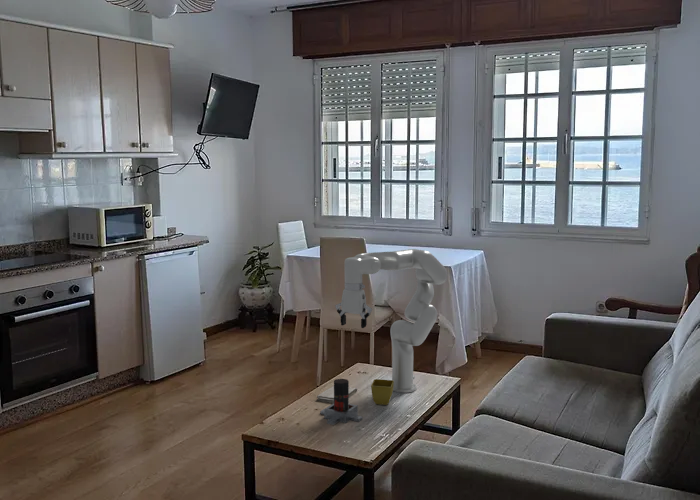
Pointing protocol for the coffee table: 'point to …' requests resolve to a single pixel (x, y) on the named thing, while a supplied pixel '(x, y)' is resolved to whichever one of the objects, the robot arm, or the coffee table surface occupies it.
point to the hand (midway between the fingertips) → (353, 326)
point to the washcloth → (329, 394)
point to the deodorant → (341, 395)
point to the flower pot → (382, 391)
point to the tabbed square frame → (341, 414)
